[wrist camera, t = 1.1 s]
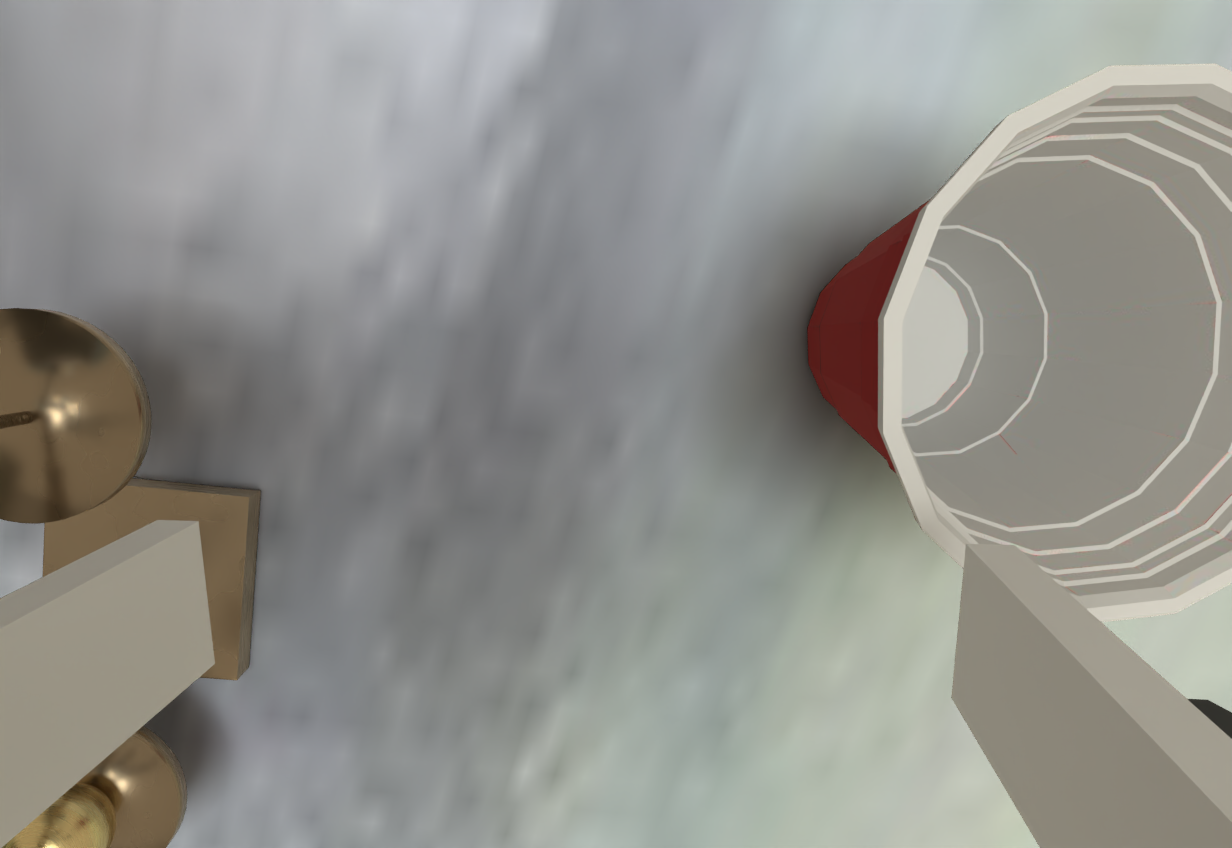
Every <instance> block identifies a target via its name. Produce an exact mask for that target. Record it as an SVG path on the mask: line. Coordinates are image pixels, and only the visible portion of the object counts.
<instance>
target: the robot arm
mask: <svg viewBox="0 0 1232 848" xmlns="http://www.w3.org/2000/svg"><path fill="white" fill-rule="evenodd" d="M214 664H215V660H214V651H213V642H212V634H211V625H210V616H209V607H208V599H207V590H206V581H205V573H204V564H203V555H202V547H201V538H200V529H199V521H179V520H156V521H154V522H152V523H150V524H148V525H146V526H144V527H142V528H140V529H138V530H136V531H134V532H132V533H130V534H128V535H126V536H124V537H122V538H120V539H118V540H116V541H114V542H112V543H110V544H108V545H106V546H104V547H102V548H100V549H98V550H96V551H94V552H92V553H90V554H88V555H86V556H84V557H82V558H80V559H78V560H76V561H74V562H72V563H70V564H68V565H66V566H64V567H62V568H60V569H58V570H56V571H54V572H52V573H50V574H48V575H46V576H44V577H42V578H40V579H38V580H36V581H34V582H32V583H30V584H28V585H26V586H24V587H22V588H20V589H18V590H16V591H14V592H12V593H10V594H8V595H6V596H4V597H2V598H0V848H2V847H3V846H4V845H5V844H7V843H8V842H9V841H10V840H11V839H12V838H14V837H15V836H16V835H17V834H18V833H19V832H21V831H22V830H23V829H24V828H25V827H26V826H28V825H29V824H30V823H31V822H32V821H33V820H34V819H36V818H37V817H38V816H39V815H40V814H41V813H43V812H44V811H45V810H46V809H47V808H48V807H50V806H51V805H52V804H53V803H54V802H55V801H56V800H58V799H59V798H60V797H61V796H62V795H63V794H65V793H66V792H67V791H68V790H69V789H70V788H72V787H73V786H74V785H75V784H76V783H77V782H79V781H80V780H81V779H82V778H83V777H84V776H85V775H87V774H88V773H89V772H90V771H91V770H92V769H94V768H95V767H96V766H97V765H98V764H99V763H101V762H102V761H103V760H104V759H105V758H106V757H107V756H109V755H110V754H111V753H112V752H113V751H114V750H116V749H117V748H118V747H119V746H120V745H121V744H123V743H124V742H125V741H126V740H127V739H128V738H130V737H131V736H132V735H133V734H134V733H135V732H136V731H138V730H139V729H140V728H141V727H142V726H143V725H145V724H146V723H147V722H148V721H149V720H150V719H152V718H153V717H154V716H155V715H156V714H157V713H159V712H160V711H161V710H162V709H163V708H164V707H165V706H167V705H168V704H169V703H170V702H171V701H172V700H174V699H175V698H176V697H177V696H178V695H179V694H181V693H182V692H183V691H184V690H185V689H186V688H187V687H189V686H190V685H191V684H192V683H193V682H194V681H196V680H197V679H198V678H199V677H200V676H201V675H203V674H204V673H205V672H206V671H207V670H208V669H210V668H211V667H212V666H213V665H214ZM951 698H952V700H953V701H954V703H955V705H956V706H957V708H958V710H959V711H960V713H961V715H962V716H963V718H964V720H965V722H966V723H967V725H968V727H969V728H970V730H971V732H972V733H973V735H974V737H975V739H976V740H977V742H978V744H979V745H980V747H981V749H982V750H983V752H984V754H985V755H986V757H987V759H988V761H989V762H990V764H991V766H992V767H993V769H994V771H995V772H996V774H997V776H998V777H999V779H1000V781H1001V783H1002V784H1003V786H1004V788H1005V789H1006V791H1007V793H1008V794H1009V796H1010V798H1011V799H1012V801H1013V803H1014V805H1015V806H1016V808H1017V810H1018V811H1019V813H1020V815H1021V816H1022V818H1023V820H1024V822H1025V823H1026V825H1027V827H1028V828H1029V830H1030V832H1031V833H1032V835H1033V837H1034V838H1035V840H1036V842H1037V844H1038V845H1039V847H1040V848H1232V713H1231V712H1229V711H1228V710H1226V709H1224V708H1222V707H1220V706H1218V705H1216V704H1214V703H1213V702H1211V701H1209V700H1199V699H1186V698H1185V697H1184V696H1183V695H1182V694H1181V693H1180V692H1179V691H1178V690H1176V689H1175V688H1174V687H1173V686H1172V685H1171V684H1170V683H1169V682H1167V681H1166V680H1165V679H1164V678H1163V677H1162V676H1161V675H1160V674H1158V673H1157V672H1156V671H1155V670H1154V669H1153V668H1152V667H1151V666H1150V665H1148V664H1147V663H1146V662H1145V661H1144V660H1143V659H1142V658H1141V657H1139V656H1138V655H1137V654H1136V653H1135V652H1134V651H1133V650H1132V649H1131V648H1129V647H1128V646H1127V645H1126V644H1125V643H1124V642H1123V641H1122V640H1120V639H1119V638H1118V637H1117V636H1116V635H1115V634H1114V633H1113V632H1112V631H1110V630H1109V629H1108V628H1107V627H1106V626H1105V625H1104V624H1103V623H1101V622H1100V621H1099V620H1098V619H1097V618H1096V617H1095V616H1094V615H1093V614H1091V613H1090V612H1089V611H1088V610H1087V609H1086V608H1085V607H1084V606H1082V605H1081V604H1080V603H1079V602H1078V601H1077V600H1076V599H1075V598H1073V597H1072V596H1071V595H1070V594H1069V593H1068V592H1067V591H1066V590H1065V589H1063V588H1062V587H1061V586H1060V585H1059V584H1058V583H1057V582H1056V581H1054V580H1053V579H1052V578H1051V577H1050V576H1049V575H1048V574H1047V573H1046V572H1044V571H1043V570H1042V569H1041V568H1040V567H1039V566H1038V565H1037V564H1035V563H1034V562H1033V561H1032V560H1031V559H1030V558H1029V557H1028V556H1027V555H1025V554H1024V553H1023V552H1022V551H1021V550H1020V549H1019V548H1018V547H1016V546H1015V545H993V544H966V548H965V559H964V570H963V580H962V591H961V601H960V612H959V622H958V633H957V644H956V654H955V665H954V675H953V686H952V697H951Z"/></svg>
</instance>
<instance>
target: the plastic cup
mask: <svg viewBox="0 0 1232 848" xmlns="http://www.w3.org/2000/svg"><path fill="white" fill-rule="evenodd" d="M807 332H808V364H809V367H810V369H811V371H812V373H813V376H814V378H815V380H816V382H817V385H818V387H819V389H820V391H821V394H822V396H823V397H824V398H825V399H826V400H827V401H828V402H829V403H830V404H831V405H832V406H833V407H834V408H835V409H836V410H837V412H838V414H839V416H840V417H841V418H842V419H843V420H845V421H846V422H847V423H848V424H849V425H850V426H851V427H852V428H853V429H854V430H855V431H856V432H857V433H859V434H860V435H861V436H862V437H863V438H864V439H865V440H866V441H867V442H868V443H869V444H870V445H871V446H873V447H874V448H875V449H876V450H877V451H878V452H879V453H880V454H881V455H882V456H883V457H884V458H885V459H886V460H887V462H888V464H889V467H890V468H891V469H892V470H893V471H894V472H895V473H896V474H897V476H898V478H899V481H900V483H901V485H902V488H903V490H904V493H905V495H906V498H907V500H908V503H909V505H910V507H911V510H912V512H913V515H914V517H915V520H916V521H917V523H918V524H919V526H920V528H921V529H922V531H923V532H925V533H926V534H927V535H928V536H929V537H930V538H931V539H932V540H933V541H934V542H935V543H936V544H937V545H938V546H939V547H940V548H942V549H943V550H944V551H945V552H946V553H947V554H948V555H949V556H950V557H951V558H952V559H953V560H954V561H955V562H956V563H958V564H959V565H960V566H961V567H962V568H963V569H964V559H965V548H966V544H993V545H1015V546H1016V547H1018V548H1019V549H1020V550H1021V551H1022V552H1023V553H1024V554H1025V555H1027V556H1028V557H1029V558H1030V559H1031V560H1032V561H1033V562H1034V563H1035V564H1037V565H1038V566H1039V567H1040V568H1041V569H1042V570H1043V571H1044V572H1046V573H1047V574H1048V575H1049V576H1050V577H1051V578H1052V579H1053V580H1054V581H1056V582H1057V583H1058V584H1059V585H1060V586H1061V587H1062V588H1063V589H1065V590H1066V591H1067V592H1068V593H1069V594H1070V595H1071V596H1072V597H1073V598H1075V599H1076V600H1077V601H1078V602H1079V603H1080V604H1081V605H1082V606H1084V607H1085V608H1086V609H1087V610H1088V611H1089V612H1090V613H1091V614H1093V615H1094V616H1095V617H1096V618H1097V619H1098V620H1099V621H1100V622H1109V621H1117V620H1126V619H1134V618H1143V617H1151V616H1160V615H1168V614H1176V613H1178V612H1180V611H1181V610H1183V609H1185V608H1187V607H1189V606H1191V605H1193V604H1194V603H1196V602H1198V601H1200V600H1202V599H1204V598H1206V597H1208V596H1209V595H1211V594H1213V593H1215V592H1217V591H1219V590H1221V589H1222V588H1224V587H1226V586H1228V585H1230V584H1232V72H1231V71H1229V70H1227V69H1225V68H1223V67H1221V66H1219V65H1217V64H1172V65H1117V66H1108V67H1106V68H1104V69H1102V70H1100V71H1098V72H1096V73H1094V74H1092V75H1090V76H1088V77H1086V78H1084V79H1082V80H1080V81H1078V82H1076V83H1074V84H1072V85H1070V86H1067V87H1065V88H1063V89H1061V90H1059V91H1057V92H1055V93H1053V94H1051V95H1049V96H1047V97H1045V98H1043V99H1041V100H1039V101H1037V102H1035V103H1033V104H1031V105H1029V106H1027V107H1025V108H1023V109H1021V110H1018V111H1016V112H1014V113H1012V114H1010V115H1008V116H1007V117H1006V118H1005V119H1003V120H1002V121H1001V122H1000V123H999V124H998V125H997V126H996V127H995V128H994V129H993V130H992V131H991V132H990V133H989V134H988V136H987V137H986V138H985V139H984V140H983V141H982V142H981V143H980V145H979V146H978V147H977V148H976V149H975V150H974V151H973V152H972V154H971V155H970V156H969V157H968V158H967V159H966V160H965V161H964V163H963V164H962V165H961V166H960V167H959V168H958V169H957V170H956V171H955V173H954V174H953V175H952V176H951V177H950V178H949V179H948V180H947V182H946V183H945V184H944V185H943V186H942V187H941V188H940V189H939V191H938V192H937V193H936V194H935V195H934V196H933V197H932V198H931V199H930V200H929V201H927V202H926V203H925V204H923V205H922V206H921V207H919V208H918V209H916V210H915V211H914V212H912V213H911V214H909V215H908V216H907V217H905V218H904V219H902V220H901V221H900V222H898V223H897V224H895V225H894V226H893V227H891V228H890V229H889V230H887V231H886V232H884V233H883V234H882V235H880V236H879V237H877V238H876V239H875V240H873V241H872V242H870V243H869V244H868V245H867V246H866V247H865V248H864V250H863V251H862V252H861V253H860V254H859V255H858V256H857V257H855V258H854V259H853V260H851V261H850V262H849V263H847V264H846V265H845V266H844V267H843V268H842V269H841V270H840V271H839V272H838V274H837V275H836V276H835V277H834V278H833V279H832V280H831V281H830V282H829V284H828V285H827V286H826V287H825V288H824V289H823V290H822V291H821V293H820V295H819V298H818V301H817V303H816V306H815V309H814V311H813V314H812V317H811V320H810V322H809V325H808V328H807Z"/></svg>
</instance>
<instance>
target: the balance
mask: <svg viewBox="0 0 1232 848" xmlns="http://www.w3.org/2000/svg"><path fill="white" fill-rule="evenodd" d="M150 434H151V408H150V402H149V397H148V394H147V390H146V387H145V384H144V382H143V380H142V378H141V375H140V373H139V371H138V370H137V368H136V366H135V365H134V363H133V361H132V360H131V359H130V357H129V356H128V355H127V354H126V352H125V351H124V350H123V349H122V348H121V347H120V346H119V345H118V344H117V343H116V342H115V341H114V340H113V339H112V338H111V337H109V336H108V335H107V334H105V333H104V332H103V331H102V330H100V329H98V328H97V327H95V326H93V325H92V324H90V323H88V322H86V321H84V320H82V319H79V318H77V317H75V316H72V315H68V314H65V313H62V312H57V311H51V310H45V309H21V308H11V309H0V519H3V520H7V521H13V522H19V523H45V528H44V555H43V577H44V576H46V575H48V574H50V573H52V572H54V571H56V570H58V569H60V568H62V567H64V566H66V565H68V564H70V563H72V562H74V561H76V560H78V559H80V558H82V557H84V556H86V555H88V554H90V553H92V552H94V551H96V550H98V549H100V548H102V547H104V546H106V545H108V544H110V543H112V542H114V541H116V540H118V539H120V538H122V537H124V536H126V535H128V534H130V533H132V532H134V531H136V530H138V529H140V528H142V527H144V526H146V525H148V524H150V523H152V522H154V521H156V520H179V521H199V529H200V538H201V547H202V555H203V564H204V573H205V581H206V590H207V599H208V607H209V616H210V625H211V634H212V642H213V651H214V660H215V664H214V665H213V666H212V667H211V668H210V669H208V670H207V671H206V672H205V673H204V674H203V675H201V676H200V677H201V678H213V679H226V680H238V679H239V677H240V676H241V675H242V674H243V673H244V672H245V671H246V670H247V669H248V667H249V658H250V643H251V629H252V614H253V599H254V584H255V569H256V555H257V540H258V525H259V510H260V496H261V491H260V490H249V489H239V488H229V487H218V486H208V485H198V484H188V483H177V482H167V481H157V480H147V479H136V478H133V477H134V475H135V474H136V472H137V470H138V469H139V467H140V465H141V464H142V461H143V459H144V456H145V454H146V452H147V448H148V444H149V440H150ZM186 804H187V787H186V780H185V777H184V773H183V770H182V768H181V766H180V763H179V761H178V759H177V758H176V756H175V755H174V753H173V752H172V750H171V749H170V748H169V747H168V746H167V744H166V743H165V742H164V741H163V740H162V739H161V738H159V737H158V736H157V735H156V734H155V733H153V732H152V731H150V730H149V729H147V728H146V727H144V726H142V727H141V728H140V729H139V730H138V731H136V732H135V733H134V734H133V735H132V736H131V737H130V738H128V739H127V740H126V741H125V742H124V743H123V744H121V745H120V746H119V747H118V748H117V749H116V750H114V751H113V752H112V753H111V754H110V755H109V756H107V757H106V758H105V759H104V760H103V761H102V762H101V763H99V764H98V765H97V766H96V767H95V768H94V769H92V770H91V771H90V772H89V773H88V774H87V775H85V776H84V777H83V778H82V779H81V780H80V781H79V782H77V783H76V784H75V785H74V786H73V787H72V788H70V789H69V790H68V791H67V792H66V793H65V794H63V795H62V796H61V797H60V798H59V799H58V800H56V801H55V802H54V803H53V804H52V805H51V806H50V807H48V808H47V809H46V810H45V811H44V812H43V813H41V814H40V815H39V816H38V817H37V818H36V819H34V820H33V821H32V822H31V823H30V824H29V825H28V826H26V827H25V828H24V829H23V830H22V831H21V832H19V833H18V834H17V835H16V836H15V837H14V838H12V839H11V840H10V841H9V842H8V843H7V844H5V845H4V846H3V847H2V848H166V847H167V845H168V844H169V843H170V841H171V840H172V839H173V837H174V836H175V834H176V833H177V831H178V829H179V827H180V825H181V823H182V821H183V818H184V814H185V811H186Z"/></svg>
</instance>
